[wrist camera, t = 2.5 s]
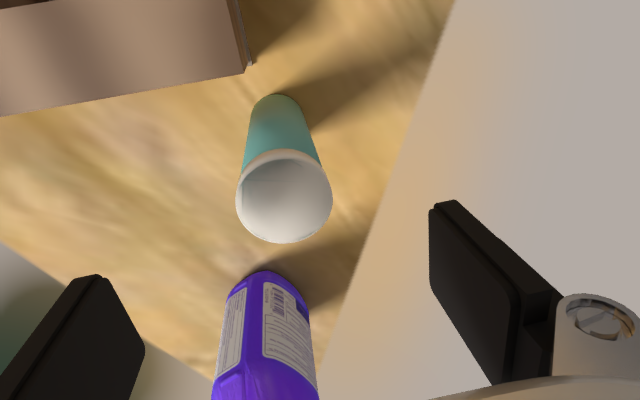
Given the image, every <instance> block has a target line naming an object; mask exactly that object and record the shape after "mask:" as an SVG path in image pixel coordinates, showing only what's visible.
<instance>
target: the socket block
mask: <svg viewBox="0 0 640 400" xmlns="http://www.w3.org/2000/svg"><path fill="white" fill-rule="evenodd" d="M247 66H252V60H251V56H250V52H249V47H248V43H247V38H246V34H245V30H244V25H243V21H242V17H241V12H240V8H239V3H238V0H0V117H4V116H9V115H15V114H20V113H26V112H31V111H37V110H43V109H48V108H54V107H59V106H65V105H71V104H76V103H82V102H87V101H93V100H98V99H104V98H110V97H115V96H121V95H126V94H132V93H137V92H143V91H149V90H154V89H160V88H165V87H171V86H177V85H182V84H188V83H193V82H199V81H204V80H210V79H216V78H221V77H227V76H232V75H238V74H243V73H244V72H245V69H246V67H247Z"/></svg>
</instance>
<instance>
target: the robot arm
mask: <svg viewBox="0 0 640 400" xmlns="http://www.w3.org/2000/svg"><path fill="white" fill-rule="evenodd" d="M428 215H429V280H430V286H431V289H432V291H433V293H434V295H435V296H436V297H437V299H438V301H439V302H440V304H441V306H442V307H443V309H444V310H445V312H446V313H447V315H448V317H449V318H450V320H451V321H452V323H453V324H454V326H455V328H456V329H457V331H458V332H459V334H460V336H461V337H462V339H463V340H464V342H465V343H466V345H467V347H468V348H469V350H470V351H471V353H472V355H473V356H474V358H475V359H476V361H477V362H478V364H479V365H480V367H481V369H482V370H483V372H484V373H485V375H486V377H487V378H488V380H489V381H490V383H491V384H492V386H489V387H484V388H480V389H475V390H471V391H466V392H461V393H456V394H452V395H447V396H442V397H438V398H434V399H429V400H640V319H639V318H638V316H637V315H636V314H635V313H634V312H633V311H631V310H630V309H628V308H627V307H625V306H624V305H622V304H620V303H618V302H616V301H614V300H612V299H609V298H606V297H602V296H599V295H593V294H586V293H582V294H572V295H569V296H566V297H564V296H562V295H561V294H560V293H559V292H558V291H557V290H556V289H555V288H554V287H552V286H551V285H550V284H549V283H548V282H547V281H546V280H545V279H544V278H543V277H541V276H540V275H539V274H538V273H537V272H536V271H535V270H534V269H533V268H532V267H531V266H529V265H528V264H527V263H526V262H525V261H524V260H523V259H522V258H521V257H519V256H518V255H517V254H516V253H515V252H514V251H513V250H512V249H511V248H510V247H508V246H507V245H506V244H505V243H504V242H503V241H502V240H500V239H499V238H497V237H496V236H495V235H494V234H493V233H492V232H491V231H489V230H488V229H487V228H486V227H485V226H484V225H483V224H482V223H481V222H480V221H478V220H477V219H476V218H475V217H474V216H473V215H472V214H471V213H470V212H469V211H468V210H466V209H465V208H464V207H463V206H462V205H461V204H460V203H459V202H458V201H456V200H449V201H445V202H440V203H436V204H435V205H434V209H430V210H429V214H428ZM144 356H145V346H144V343H143V341H142V339H141V337H140V336H139V334H138V332H137V330H136V328H135V326H134V325H133V323H132V321H131V319H130V317H129V315H128V314H127V312H126V310H125V308H124V306H123V305H122V303H121V301H120V299H119V297H118V295H117V294H116V292H115V290H114V288H113V286H112V284H111V283H110V281H109V280H108V279H107V278H102V276H100V275H99V274H94V275H89V276H84V277H79V278H75V279H73V280H72V281H71V282H70V284H69V285H68V286H67V288H66V289H65V290H64V292H63V293H62V294H61V296H60V297H59V298H58V300H57V301H56V302H55V304H54V305H53V306H52V308H51V309H50V310H49V312H48V313H47V314H46V316H45V317H44V318H43V320H42V321H41V322H40V324H39V325H38V326H37V328H36V329H35V330H34V332H33V333H32V334H31V336H30V337H29V338H28V340H27V341H26V342H25V344H24V345H23V346H22V348H21V349H20V350H19V352H18V353H17V354H16V356H15V357H14V358H13V360H12V361H11V362H10V364H9V365H8V366H7V368H6V369H5V370H4V372H3V373H2V374H1V375H0V400H129V397H130V395H131V392H132V389H133V387H134V384H135V381H136V378H137V376H138V373H139V370H140V367H141V364H142V362H143V359H144Z"/></svg>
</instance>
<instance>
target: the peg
mask: <svg viewBox="0 0 640 400" xmlns="http://www.w3.org/2000/svg"><path fill="white" fill-rule="evenodd" d="M332 202H333V197H332V191H331V187H330V184H329V182H328V179H327V176H326V174H325V172H324V170H323V168H322V166H321V163H320V160H319V157H318V154H317V152H316V149H315V146H314V143H313V140H312V138H311V135H310V132H309V129H308V126H307V124H306V121H305V118H304V115H303V112H302V110H301V108H300V106H299V105H298V104H297V103H296V102H295V101H294V100H293V99H291V98H290V97H288V96H285V95H281V94H273V95H268V96H266V97H264V98H262V99H261V100H260V101H258V103H257V104H256V105H255V106H254V108H253V110H252V113H251V118H250V124H249V130H248V136H247V142H246V147H245V153H244V159H243V165H242V171H241V175H240V178H239V181H238V186H237V192H236V199H235V204H236V210H237V214H238V216H239V219H240V220H241V222H242V224H243V225H244V226H245V228H246V229H247V230H248V231H250V232H251V233H252V234H253V235H255V236H257V237H258V238H260V239H263V240H265V241H268V242H273V243H281V244H283V243H294V242H298V241H301V240H303V239H306V238H308V237H310V236H311V235H313V234H314V233H316V232H317V231H318V230H319V229H320V228H321V227H322V226H323V225H324V223H325V222H326V221H327V219H328V217H329V215H330V212H331V209H332Z"/></svg>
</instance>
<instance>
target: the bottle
mask: <svg viewBox="0 0 640 400" xmlns="http://www.w3.org/2000/svg"><path fill="white" fill-rule="evenodd" d="M211 400H319V396H318V389H317V381H316V373H315V365H314V357H313V349H312V340H311V331H310V324H309V312H308V309H307V306H306V304H305V302H304V300H303V298H302V297H301V295H300V293H299V292H298V291H297V290H296V288H295V287H294V286H293V285H292V284H291V283H290V282H288V281H287V280H286V279H284V278H283V277H282V276H280V275H278V274H276V273H274V272H271V271H261V272H257V273H254V274H252V275H250V276H248V277H247V278H246V279H244V280H242V281H241V282H240V283H238V284H237V285H236V286H235V287H234V288H233V289H232V291H231V292H230V294H229V296H228V298H227V301H226V307H225V313H224V319H223V325H222V332H221V338H220V344H219V350H218V357H217V363H216V369H215V376H214V382H213V390H212V396H211Z"/></svg>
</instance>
